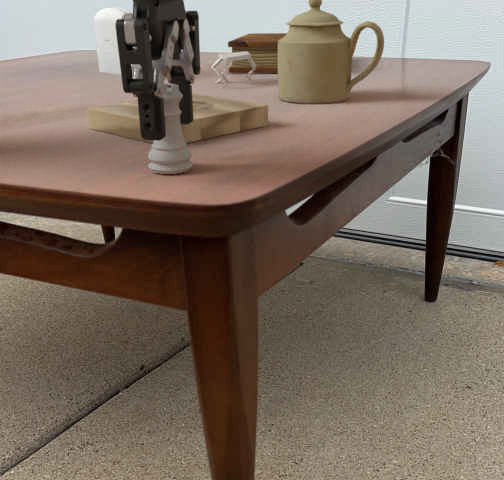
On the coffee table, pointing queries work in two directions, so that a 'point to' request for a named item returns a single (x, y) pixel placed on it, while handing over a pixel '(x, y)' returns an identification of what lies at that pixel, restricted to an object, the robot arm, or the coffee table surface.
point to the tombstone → (108, 38)
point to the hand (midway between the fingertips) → (168, 130)
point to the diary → (257, 52)
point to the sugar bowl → (320, 58)
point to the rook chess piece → (171, 138)
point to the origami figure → (233, 57)
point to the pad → (202, 127)
